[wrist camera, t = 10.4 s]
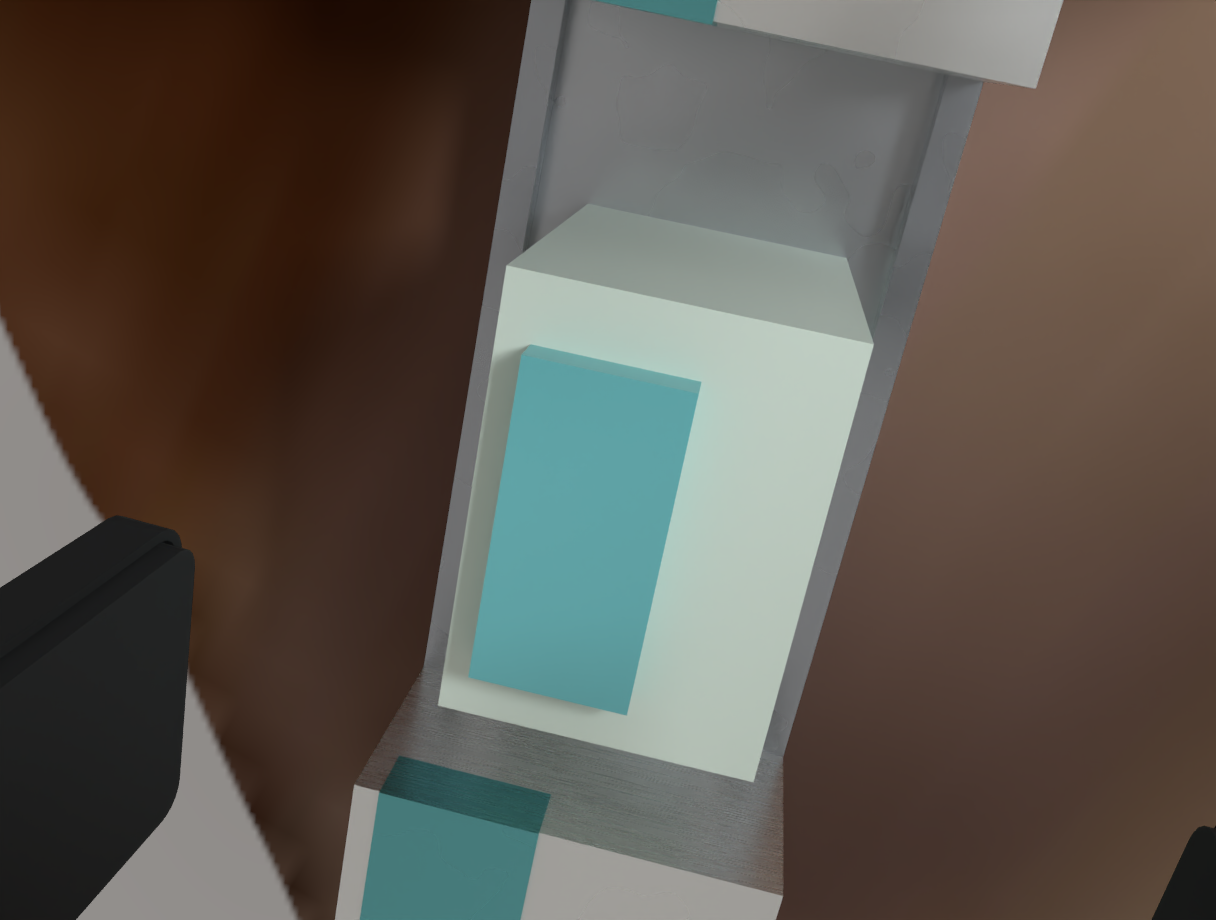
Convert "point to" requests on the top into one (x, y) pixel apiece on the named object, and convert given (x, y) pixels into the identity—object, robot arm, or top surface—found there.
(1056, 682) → the top surface
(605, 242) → the block
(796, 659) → the rail
